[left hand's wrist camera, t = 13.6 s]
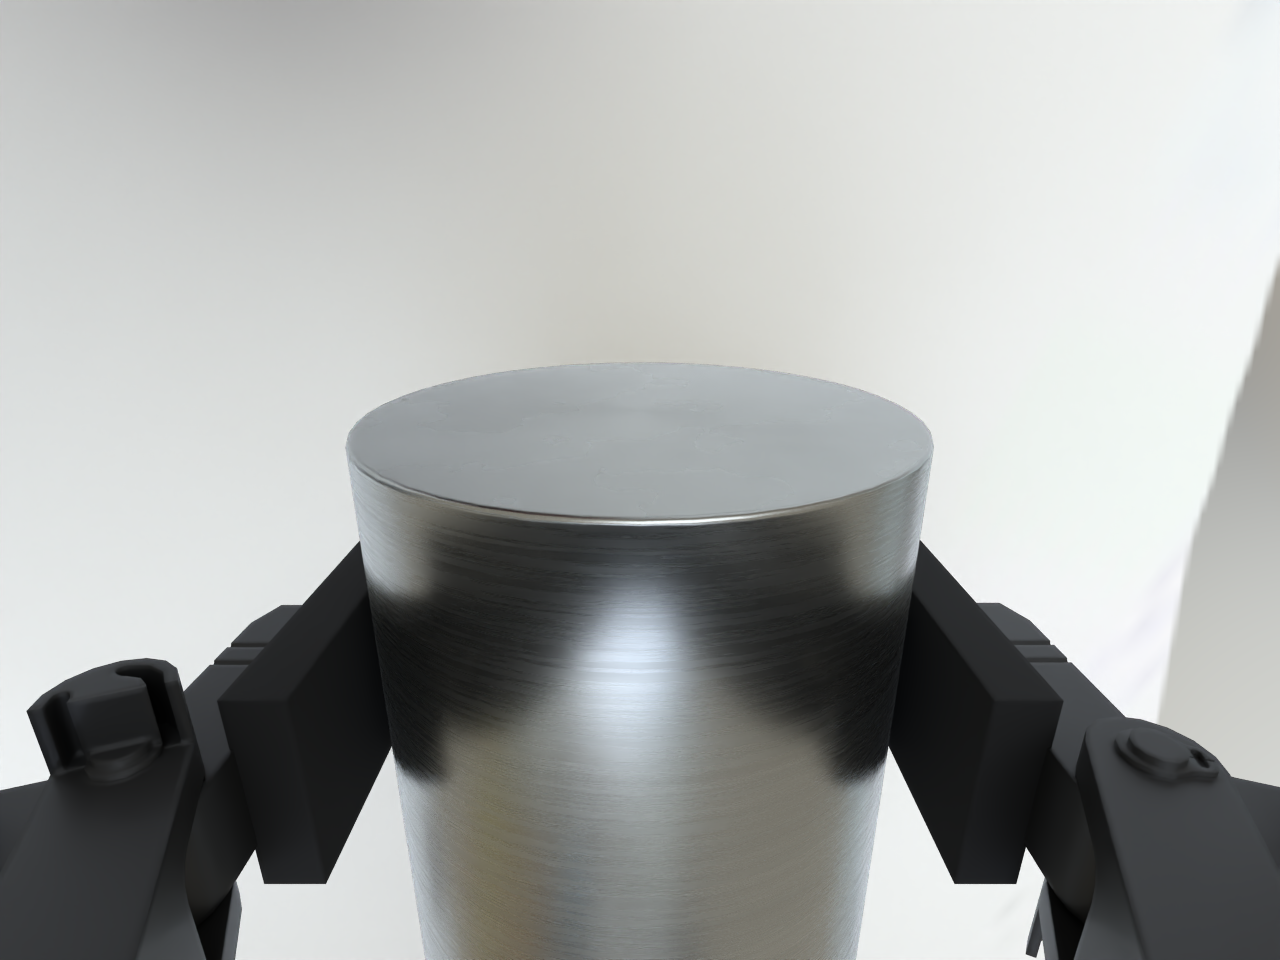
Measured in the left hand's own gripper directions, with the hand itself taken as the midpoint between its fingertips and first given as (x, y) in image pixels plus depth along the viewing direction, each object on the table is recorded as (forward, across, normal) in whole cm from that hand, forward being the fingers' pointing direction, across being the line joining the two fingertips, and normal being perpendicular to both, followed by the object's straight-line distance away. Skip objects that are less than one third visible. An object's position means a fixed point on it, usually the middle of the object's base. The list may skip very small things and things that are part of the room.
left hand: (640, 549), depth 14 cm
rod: (+1, 0, -10) cm, 10 cm away
